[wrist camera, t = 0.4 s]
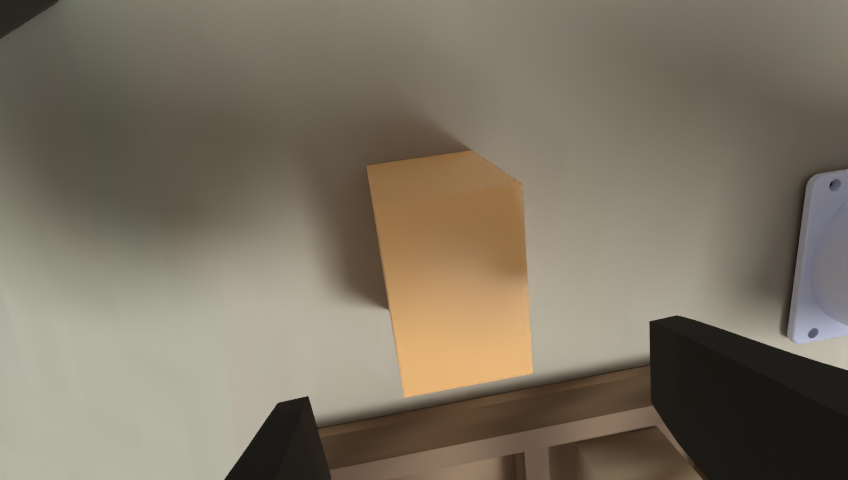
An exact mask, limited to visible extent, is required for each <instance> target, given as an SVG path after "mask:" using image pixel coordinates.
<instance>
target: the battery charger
mask: <svg viewBox="0 0 848 480" xmlns="http://www.w3.org/2000/svg"><path fill="white" fill-rule="evenodd" d="M57 1H58V0H0V38H1V37H3V36H5V35H6V34H8V33H9V32H11V31H12V30H14V29H16V28H17V27H19V26H20V25H22V24H23V23H25V22H27V21H28V20H30V19H31V18H33V17H34V16H36V15H37V14H39V13H41V12H42V11H44V10H45V9H47V8H48V7H50V6H51V5H53V4H54V3H55V2H57Z"/></svg>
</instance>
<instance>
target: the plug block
mask: <svg viewBox="0 0 848 480" xmlns="http://www.w3.org/2000/svg"><path fill="white" fill-rule="evenodd" d="M366 168H367V174H368V180H369V187H370V193H371V199H372V206H373V212H374V218H375V225H376V231H377V237H378V243H379V250H380V256H381V262H382V269H383V275H384V281H385V288H386V294H387V300H388V307H389V313H390V318H391V324H392V330H393V336H394V341H395V347H396V353H397V358H398V364H399V370H400V376H401V381H402V387H403V393H404V398H406V397H411V396H417V395H422V394H427V393H432V392H438V391H443V390H448V389H453V388H459V387H464V386H469V385H475V384H480V383H485V382H490V381H496V380H501V379H506V378H512V377H517V376H522V375H527V374H533V367H532V350H531V332H530V315H529V298H528V281H527V263H526V246H525V229H524V211H523V194H522V183H520V182H519V181H517V180H516V179H514V178H513V177H511V176H510V175H508V174H507V173H505V172H504V171H502V170H501V169H499V168H498V167H496V166H495V165H493V164H492V163H490V162H489V161H487V160H486V159H484V158H483V157H481V156H480V155H478V154H477V153H475V152H474V151H472V150H469V151H462V152H455V153H449V154H442V155H435V156H428V157H421V158H414V159H407V160H400V161H393V162H387V163H380V164H373V165H366Z"/></svg>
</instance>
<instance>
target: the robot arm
mask: <svg viewBox="0 0 848 480" xmlns="http://www.w3.org/2000/svg"><path fill="white" fill-rule="evenodd" d="M832 181H833V183H832V185H831V186H830V183H831V182H832ZM829 186H830V188H829ZM809 331H810V332H809ZM846 335H848V169H844V170H838V171H831V172H825V173H819V174H816V175H814V176H813V177H811V178H810V180H809V181H808V182H807V186H806V192H805V200H804V208H803V215H802V223H801V231H800V238H799V246H798V254H797V262H796V269H795V277H794V285H793V293H792V300H791V308H790V316H789V323H788V331H787V337H788V338H789V340H791V341H793V342H794V343H796V344H804V343H809V342H814V341H820V340H825V339H830V338H835V337H840V336H846ZM650 379H651V403H652V405H653V406H654V408H655V410H656V411H657V413H658V414H659V416H660V417H661V419H662V420H663V422H664V424H665V425H666V427H667V428H668V430H669V431H670V432H671V434H672V435H673V437H674V438H675V440H676V441H677V443H678V444H679V445H680V446H681V448H682V449H683V450H684V451H685V452H686V454H687V455H688V456H689V457H690V458H691V460H692V461H693V462H694V463H695V464H696V465H697V467H698V468H699V469H700V470H701V471H702V472H703V474H704V475H705V476H706V477H707V478H708V479H709V480H848V370H844V369H841V368H838V367H834V366H831V365H828V364H824V363H821V362H818V361H814V360H811V359H808V358H805V357H802V356H799V355H796V354H793V353H790V352H787V351H784V350H781V349H778V348H775V347H772V346H769V345H766V344H763V343H760V342H757V341H754V340H751V339H749V338H746V337H743V336H740V335H737V334H734V333H731V332H728V331H726V330H723V329H720V328H717V327H714V326H711V325H708V324H705V323H702V322H699V321H695V320H692V319H689V318H685V317H681V316H672V317H668V318H663V319H659V320H654V321H650ZM224 480H331V475H330V471H329V467H328V464H327V460H326V457H325V453H324V450H323V446H322V443H321V439H320V436H319V432H318V429H317V425H316V422H315V418H314V415H313V411H312V408H311V404H310V400H309V397H308V396H307V397H303V398H298V399H294V400H289V401H285V402H280V403H278V404H277V405H276V406H275V408H274V409H273V411H272V412H271V413H270V415H269V416H268V418H267V419H266V421H265V422H264V424H263V425H262V426H261V428H260V429H259V431H258V432H257V434H256V435H255V437H254V438H253V440H252V441H251V443H250V444H249V446H248V447H247V448H246V450H245V451H244V453H243V454H242V456H241V457H240V458H239V460H238V461H237V463H236V464H235V465H234V467H233V468H232V470H231V471H230V472H229V474H228V475H227V477H226V478H225V479H224Z"/></svg>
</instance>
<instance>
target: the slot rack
mask: <svg viewBox="0 0 848 480" xmlns="http://www.w3.org/2000/svg"><path fill="white" fill-rule="evenodd" d="M654 427H658V428H659V429H660V430H661V432H662V433H663V434H664V435H665V436H666V437H667V439H668V440H669V441H670V442H671V443H672V444H673V446H674V447H675V448H676V449H677V450H678V451H679V452H680V454H681V455H682V456H683V457H684V458H685V459H686V461H687V462H688V463H689V464H690V465H691V466H692V468H693V469H694V470H695V471H696V472H697V473H698V475H699V476H700V477H701V478H702V479H703V480H709V479H708V478H707V477H706V476H705V475H704V474H703V472H702V471H701V470H700V469H699V468H698V467H697V465H696V464H695V463H694V462H693V461H692V460H691V458H690V457H689V456H688V455H687V454H686V452H685V451H684V450H683V449H682V448H681V446H680V445H679V444H678V443H677V441H676V440H675V438H674V437H673V435H672V434H671V432H670V431H669V430H668V428H667V427H666V425H665V424H664V422H663V420H662V419H661V417H660V416H659V414H658V413H657V411H656V410H655V408H654V406H653V405H652V403H651V379H650V365H649V366H644V367H639V368H633V369H628V370H623V371H618V372H613V373H607V374H602V375H597V376H592V377H586V378H581V379H576V380H571V381H566V382H560V383H555V384H550V385H545V386H539V387H534V388H529V389H524V390H519V391H513V392H508V393H503V394H498V395H492V396H487V397H482V398H477V399H472V400H466V401H461V402H456V403H451V404H446V405H440V406H435V407H430V408H425V409H419V410H414V411H409V412H404V413H399V414H393V415H388V416H383V417H378V418H372V419H367V420H362V421H357V422H352V423H346V424H341V425H336V426H331V427H325V428H320V429H318V432H319V436H320V439H321V443H322V446H323V450H324V453H325V457H326V460H327V464H328V467H329V471H330V475H331V480H577V474H576V443H580V442H585V441H590V440H595V439H600V438H605V437H610V436H614V435H619V434H624V433H629V432H634V431H639V430H644V429H649V428H654Z"/></svg>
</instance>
